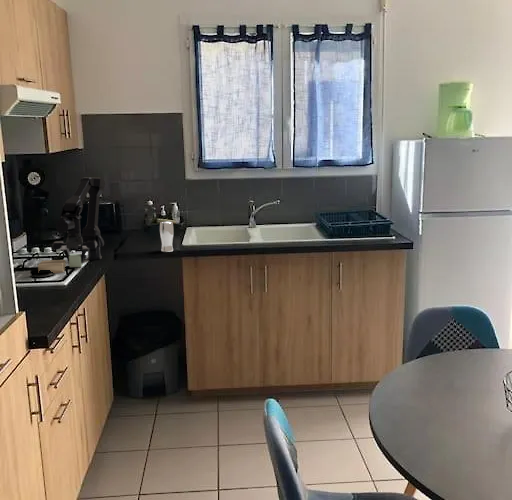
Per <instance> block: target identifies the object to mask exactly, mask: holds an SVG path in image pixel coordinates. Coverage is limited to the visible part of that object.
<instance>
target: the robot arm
mask: <svg viewBox="0 0 512 500" xmlns="http://www.w3.org/2000/svg"><path fill="white" fill-rule="evenodd" d="M105 185H106V182H105V179H103V177H87V176H86V177H84V176H83V177H81V179H80V182H79V185H78V186H77V188H76V190H75V192H74V193H73V195H72V196H71V197H69V198H68V199H66V201H65V202H64V203H63V206H62V207H61V208H62V209H61V212H60V215H59V220H58V221H57V222H56V225H55V229H56V230H57V231H58V232H59V233H62V234H64V233H67V237H66V241H65V242H64V241H63V240H60V241H57V240H56V241H54V242H53V243H52V246H51V247H52V248H51V249H52V250H59V252H63V254H64V255H65V257H66V259H67V260H66V261H68V263H69V256H70V254H71V253H70V249H78V248H81V254H82V256H81V263H84V259H85V256H86V253H87V257H88V258H87V257H86V260H87V259H88V260H89V261H91V260H95V261H96V260H101V259H102V257H103V256H102V255H101V247H104V245H105V241H104V238H103V237H102V236H101V230H100V228H99V225H98V223H99V210H100V208H99V207H100V198H101V195H102V194H103V193H104V190H105ZM87 194H88V195H89V196H88V209H87V220H86V225H85V227H83V228H81V219H82V216H81V213H82V211H83V209H84V205H83V202H84V200H85V198H86V197H87ZM81 229H82V230H81ZM81 232H82V233H81Z"/></svg>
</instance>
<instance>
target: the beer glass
mask: <svg viewBox="0 0 512 500" xmlns="http://www.w3.org/2000/svg"><path fill="white" fill-rule="evenodd" d="M159 234H160V241H161V252H162V253H170V252H173V251H174V248H173V240H174V223H173V221H160V222H159Z"/></svg>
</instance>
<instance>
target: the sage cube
mask: <svg viewBox="0 0 512 500" xmlns="http://www.w3.org/2000/svg"><path fill="white" fill-rule="evenodd" d="M81 256H82V253H70V256H69V262H68V265H69V266H68V267H69V268H81V267H83V263H84V262H83V263H81Z"/></svg>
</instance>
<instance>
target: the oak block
mask: <svg viewBox="0 0 512 500" xmlns="http://www.w3.org/2000/svg"><path fill="white" fill-rule="evenodd" d="M66 261H67V260H66V259H49V260H48V259H47V260H41V261H40V262H39V264H37V270H38V272H39V271H40V270H50V271H51V272H53V273H56V274H57V273H59V274H60V273H61V274H62V273H64V271H65V270H66V268H67V264H66V263H67V262H66ZM65 267H66V268H65ZM53 273H52V274H53Z"/></svg>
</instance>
